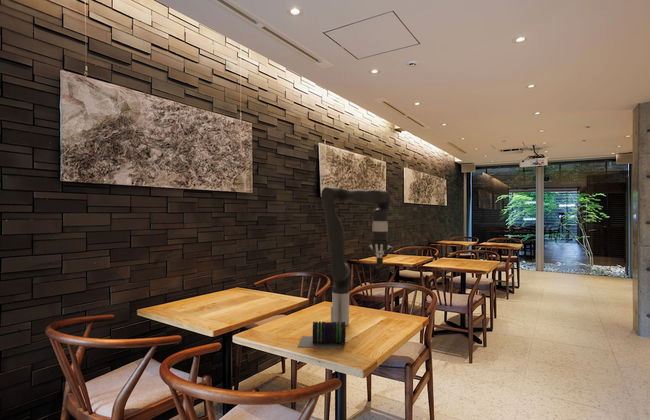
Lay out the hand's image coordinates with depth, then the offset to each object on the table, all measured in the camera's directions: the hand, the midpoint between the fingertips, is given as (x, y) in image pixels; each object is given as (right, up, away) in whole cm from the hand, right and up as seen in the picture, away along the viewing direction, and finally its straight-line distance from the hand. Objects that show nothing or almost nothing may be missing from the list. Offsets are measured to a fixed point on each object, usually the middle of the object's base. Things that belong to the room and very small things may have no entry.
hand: (379, 265), depth 183 cm
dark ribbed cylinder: (-18, -30, -11) cm, 36 cm away
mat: (-29, -35, -10) cm, 46 cm away
